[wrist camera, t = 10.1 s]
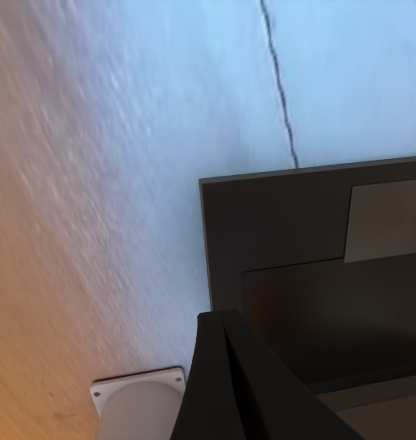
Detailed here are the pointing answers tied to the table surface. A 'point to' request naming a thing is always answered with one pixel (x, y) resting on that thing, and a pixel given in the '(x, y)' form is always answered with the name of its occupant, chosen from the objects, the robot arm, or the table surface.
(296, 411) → the robot arm
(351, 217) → the laptop
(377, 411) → the laptop screen
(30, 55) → the table surface
